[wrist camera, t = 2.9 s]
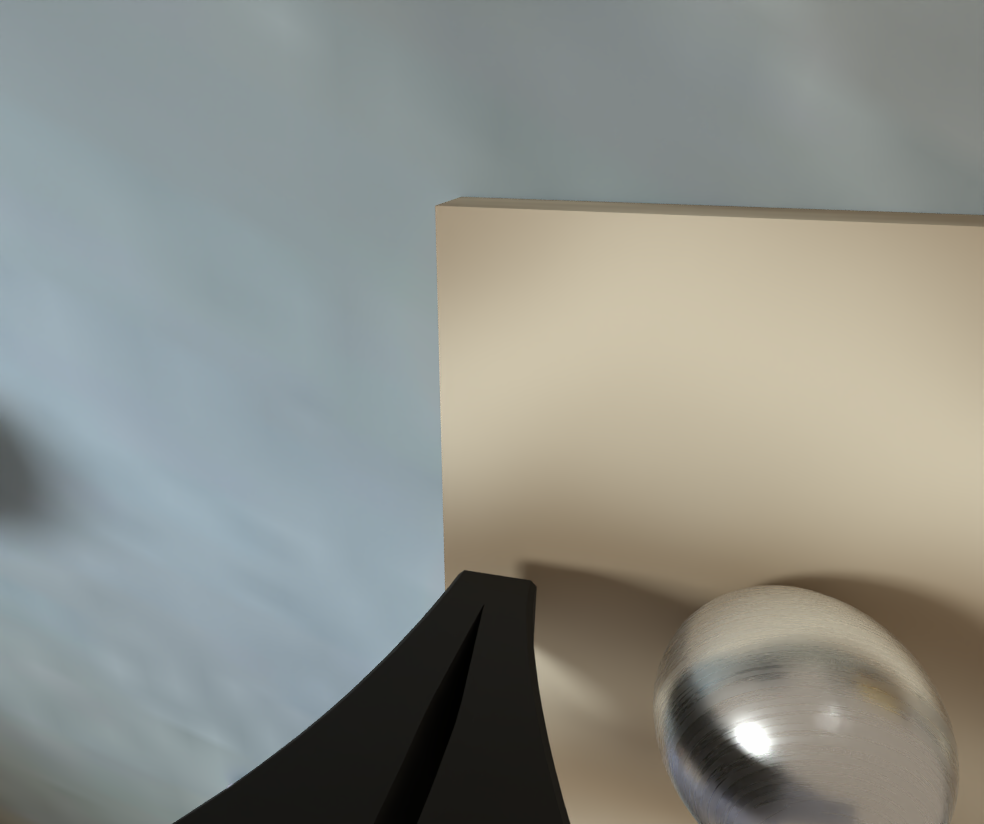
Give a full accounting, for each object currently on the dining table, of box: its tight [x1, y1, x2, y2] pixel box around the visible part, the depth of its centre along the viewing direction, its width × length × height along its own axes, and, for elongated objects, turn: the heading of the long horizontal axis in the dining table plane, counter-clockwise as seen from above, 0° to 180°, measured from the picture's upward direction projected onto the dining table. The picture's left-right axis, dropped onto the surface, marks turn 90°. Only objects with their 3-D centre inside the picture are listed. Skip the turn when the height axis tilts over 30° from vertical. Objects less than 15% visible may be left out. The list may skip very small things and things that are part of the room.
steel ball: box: [653, 585, 960, 824], centre depth 9 cm, size 4×4×4 cm
